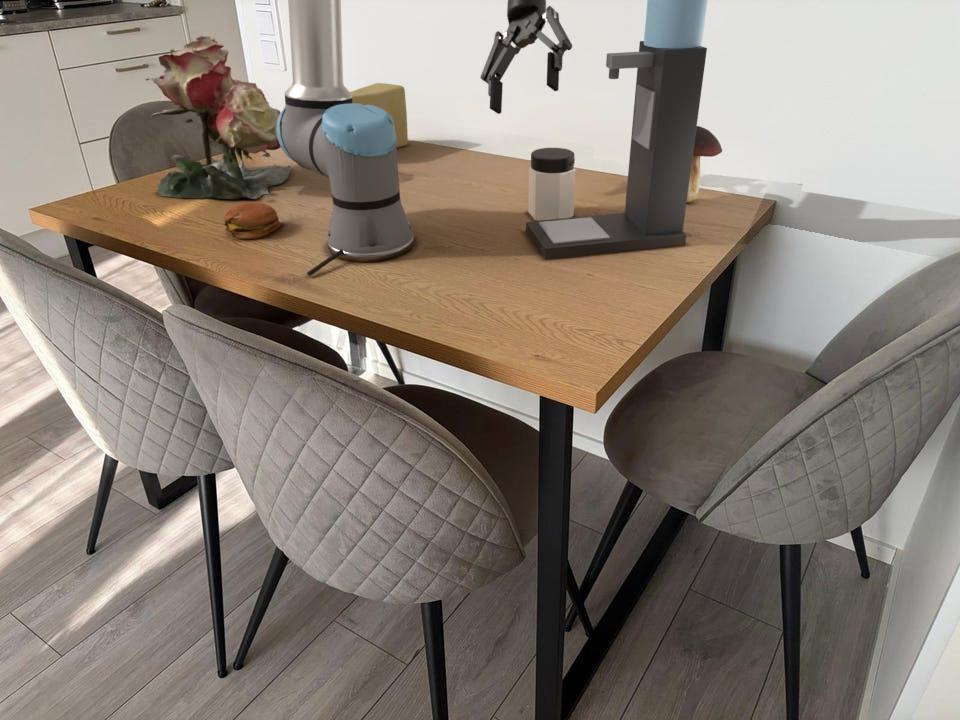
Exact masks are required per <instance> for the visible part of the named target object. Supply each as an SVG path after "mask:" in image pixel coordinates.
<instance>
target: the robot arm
mask: <svg viewBox="0 0 960 720" xmlns="http://www.w3.org/2000/svg"><path fill="white" fill-rule="evenodd" d="M287 1H288V2H287V3H288V4H287V5H288V19H289V21H288V22H289V35H290V36H289V37H290V38H289V39H290V52H291V53H290V54H291V70H292V71H291V72H292V83H291V85H290V86H289V87H288V88H287V89H286V90H285V92H284V104H285V105H284V107H283V109H282V111H281V113H280V115H279V117H278V120H277V128H276V130H277V137H278V138H277V139H278V141H279V144H280V146H281V147H280V148H281V150H282V151H283V152H284V155H285V156H287V157H288V159H290V160H291V161H293V162H294V163H296V164H297V165H298V166H300V167H301V168H303V169H305V170H308V171H312V172H315V173H317V174H320V175H321V176H324V177H326V178H329V183H330V184H329V185H330V192H331V200H332V211H331V215H330V216H331V217H330V221H329V230H328V232H327V238H326V243H327V249H328V252H329V254H331V255H330V256H329V257H327V258H326V259H324V260H323V261H321V262H320V263H318V264H317V265H315V266H314V267H312V268H311V269H310V270H308V271H307V273H306V274H307V276H308V277H312V276H313V275H314V274H315V273H317V272H319V270H321V269H322V268H325V266H327V265H328V264H329V263H331V262H332V261H334V260H335V259H337V258H338V259H340V260H344V261H349V262H359V263H360V262H361V263H363V262H364V263H365V262H366V263H368V262H379V261H384V260H390V259H393V258H396V257H399V256H401V255H404V254H405V253H407V252H409V251H410V250H411V249H412V248H413V247H414V245H415V238H414V232H413V228H412V226H411V224H409V222H408V217H407V215H406V212H405V209H404V207H403V204H402V202H401V191H400V177H399V165H398V149H397V148H396V143H397V137H396V133H395V127H394V122H393V119H392V117H391V116H390V115H389V113H388V112H386V111H385V110H383V109H381V108H379V107H376V106H372V105H362V104H358V103H352V94H351V93H350V92H351V91H349V89H348V88H347V87H346V86H345V84H344V65H343V33H342V30H343V29H342V0H287ZM506 18H507V23H508V26H507V29H506V31H503V32H501V31H499V30H497V31H496V32H495V33H494V38H493V45H492V46H491V49H490V51H489V55H488V57H487V59H486V62H485V64H484V66H483V70H482V71H481V74H480V77H479V78H480V80H481V81H483V82H484V83H486V84H487V85H488V86H487V88H488V89H487V95H488V97H489V109H490V110H491V111H494V112H495V114H497V115H500V114H502V106H503V83H504V82H502V81H501V80H502V78H503V76H504V75H505V73H506V72H507V70H508V68H509V66H510V65H511V63H512V61H513V59H514V58H515V56H516V55H518V54H519V53H520V52H521V50H522V49H525V48H526V47H528V46H529V45H533V44H535V43H536V41H537V40H539V41H541V43H543V44H544V45H545V46H547V47H548V48H549V50H551V51H549V52H547V59H546V61H547V62H546V63H547V65H546V86H547V87H549V88H550V89H551V90H552V91H553V92H558V91H559V90H560V89H559V83H560V72H561V71H562V69H563V58H564V57H563V56H564V55H565V53H566V51H571V49H573V43H572V42H571V40H570V39H569V35H567V33H566V31H565V29H564V27H563V26H562V24H561V22H560V14H559V12H558V11H557V10H555V9H554V7H552V6H551V5H548V6H547V0H507V9H506ZM546 23H548V24H549V26H550V28H551V30H552V31H553V34H554V35H555V37H556V39H557V41H558V43H557V44H556V43H555V42H554V41H552V39H550V38H549V36H547V34H545V33H543V32H542V31H543V29H544V28H545V25H546ZM512 44H514V46H513V45H512Z"/></svg>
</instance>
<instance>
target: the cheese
mask: <svg viewBox="0 0 960 720" xmlns="http://www.w3.org/2000/svg"><path fill="white" fill-rule="evenodd" d="M349 92H350V93H351V94H352V103H358V104H362V105H372V106H376V107H379V108H381V109H383V110H385V111H386V112H388V113H389V115H390V116H391V117H392V119H393V122H394V127H395V133H396V137H397V143H396V148H401V147H405V146H407V145H409V138H408V137H409V136H408V135H409V134H408V114H407V101H406V99H407V98H406V91H405V87H404V86H402V85H400V84H393V83H392V84H391V83H385V82H376V83H373V84H370V85H366V86H363V87H360V88H357V89H355V90H353V91H349Z"/></svg>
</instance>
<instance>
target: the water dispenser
mask: <svg viewBox="0 0 960 720" xmlns="http://www.w3.org/2000/svg"><path fill="white" fill-rule="evenodd" d="M707 6H708V0H647V3H646V14H645V26H644V36H643V40H640V41H639V45H638V46H639V47H638V51H627V52H609V53H606V60H605V67H606V68H608V79H610V80H618V79H619V78H620V70H622V69H636V79H635V80H636V82H635V90H634V91H635V92H634V102H633V103H634V104H633V114H632V125H631V136H630V137H631V138H630V149H629V160H628V173H627V184H626V195H625V196H626V197H625V205H624V212H618V213H605V214H595V215H585V216H573V217H570V218H563V219H552V220H541V221H537V220H531V221H525V233H526V235H527V236H528V238H529V239H530V240H531V242H532V244H533V245H534V246H535V248H536V249H537V250H538V252H539V253H540V254H541V256H542V257H543V259H544V260H554V259H564V258H573V257H585V256H594V255H601V254H602V255H603V254H604V255H605V254H614V253H623V252H632V251H641V250H642V251H644V250H652V249H663V248H670V247H672V248H673V247H680V246H681V247H682V246H686V243H687V242H686V241H687V234H686V232H684V226H685V225H684V224H685V219H686V218H685V217H686V212H687V211H686V210H687V203H688V202H687V196H688V188H689V180H690V173H691V165H692V158H693V150H694V143H695V135H696V128H697V126H698V119H699V111H700V105H701V104H700V103H701V98H702V89H703V81H704V74H705V67H706V59H707V51H708V47H705V46H703V38H704V29H705V21H706V14H707Z"/></svg>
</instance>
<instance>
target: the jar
mask: <svg viewBox="0 0 960 720" xmlns="http://www.w3.org/2000/svg"><path fill="white" fill-rule="evenodd" d="M575 161H576V158H575V152H574V151H573V150H570V149H569V148H568V149H567V148H564V147H563V148H562V147H542V148H538V149H534V150H532V151H531V153H530V165H529V166H528V199H527V200H528V204H527V205H528V208H527V209H528V210H527V211H528V213H529V215H530V216H531V217H532V219H533V221H541V220H552V219H563V218H573V217H574V211H575V194H576V175H577V174H576V173H577V170H576V168H575Z"/></svg>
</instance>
